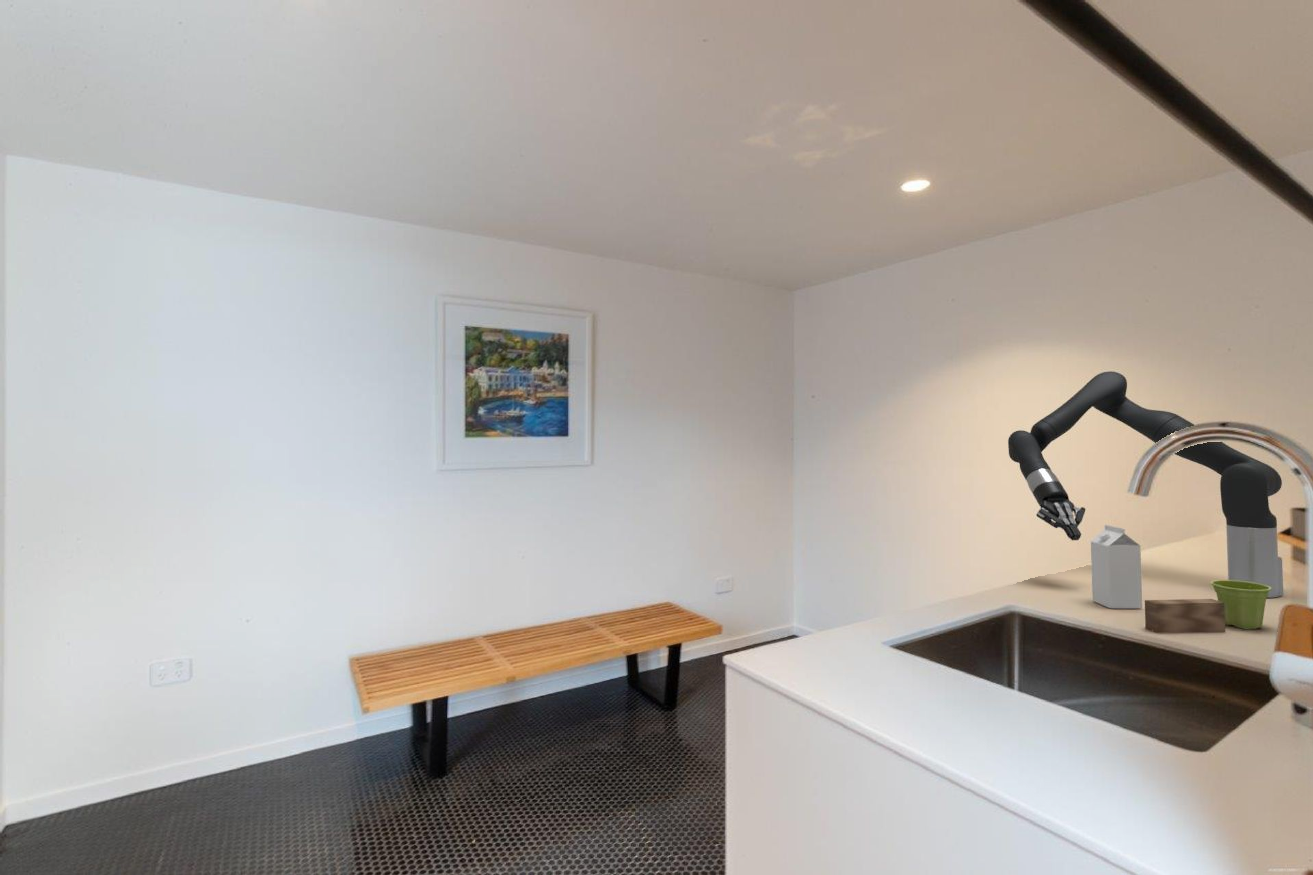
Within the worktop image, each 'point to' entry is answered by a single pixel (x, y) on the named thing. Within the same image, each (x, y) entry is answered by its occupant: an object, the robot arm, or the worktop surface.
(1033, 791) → the worktop surface
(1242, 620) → the plant pot
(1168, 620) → the brown block
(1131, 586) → the milk carton
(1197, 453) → the robot arm
